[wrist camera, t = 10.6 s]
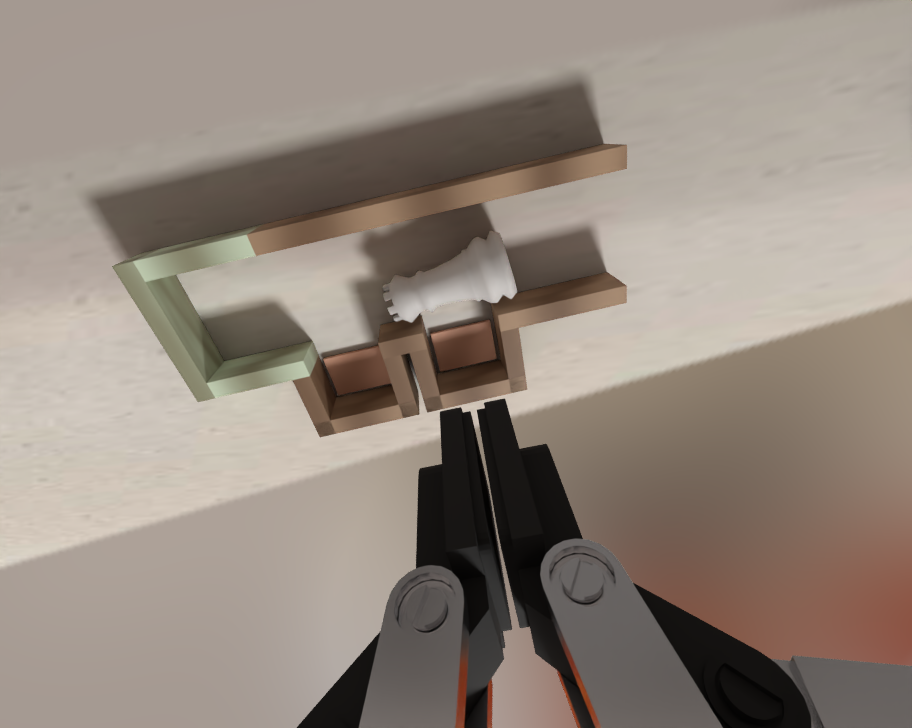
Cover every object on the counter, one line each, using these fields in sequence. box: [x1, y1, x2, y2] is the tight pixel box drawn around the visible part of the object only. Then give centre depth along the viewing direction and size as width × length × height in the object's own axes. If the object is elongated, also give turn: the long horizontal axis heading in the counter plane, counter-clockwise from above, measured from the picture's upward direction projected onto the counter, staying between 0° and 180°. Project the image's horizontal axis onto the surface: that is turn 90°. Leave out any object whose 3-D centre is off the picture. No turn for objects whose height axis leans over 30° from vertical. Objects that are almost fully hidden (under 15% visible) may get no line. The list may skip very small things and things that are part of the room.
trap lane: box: [112, 144, 627, 437], centre depth 28 cm, size 29×14×3 cm, turn 101°
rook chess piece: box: [382, 231, 517, 323], centre depth 27 cm, size 4×4×8 cm
